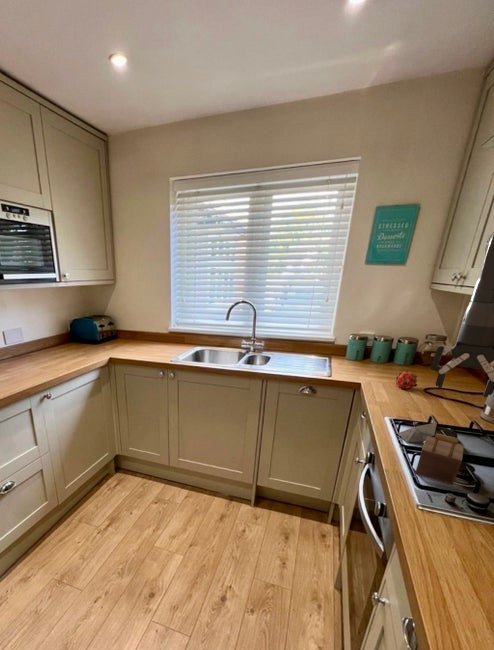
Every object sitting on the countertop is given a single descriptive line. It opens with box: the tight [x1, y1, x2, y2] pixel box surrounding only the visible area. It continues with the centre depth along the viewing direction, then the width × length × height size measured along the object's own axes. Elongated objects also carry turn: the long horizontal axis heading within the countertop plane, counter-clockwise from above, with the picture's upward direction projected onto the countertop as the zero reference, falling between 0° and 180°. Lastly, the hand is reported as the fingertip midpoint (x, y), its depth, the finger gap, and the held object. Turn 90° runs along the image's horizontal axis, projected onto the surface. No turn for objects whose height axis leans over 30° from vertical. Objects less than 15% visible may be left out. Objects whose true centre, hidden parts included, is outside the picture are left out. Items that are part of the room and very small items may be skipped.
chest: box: [415, 452, 462, 486], centre depth 89 cm, size 10×8×7 cm
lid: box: [420, 432, 465, 464], centre depth 87 cm, size 11×8×5 cm
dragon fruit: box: [394, 370, 418, 390], centre depth 155 cm, size 8×8×12 cm
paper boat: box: [396, 421, 438, 443], centre depth 106 cm, size 12×6×9 cm
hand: (461, 391), depth 79 cm, fingers open, 8 cm apart
